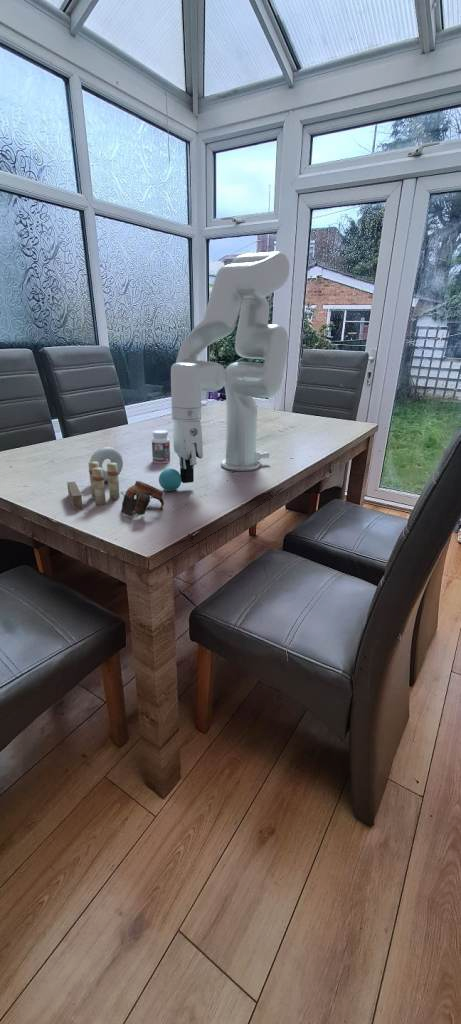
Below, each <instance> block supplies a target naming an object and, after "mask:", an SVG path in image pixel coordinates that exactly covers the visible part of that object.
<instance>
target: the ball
mask: <svg viewBox="0 0 461 1024" xmlns="http://www.w3.org/2000/svg"><path fill="white" fill-rule="evenodd" d="M158 482H159V485H160V487H161V488H162V489H163V490H165V491H168V492H174V491H176V490H178V489H179V487H180V486H181V484H182V482H181V475H180V473H179V471H178V470H176V469H174V468H167V469H164V470H162V472H160V474H159V477H158Z"/></svg>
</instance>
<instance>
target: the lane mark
mask: <svg viewBox="0 0 461 1024" xmlns="http://www.w3.org/2000/svg"><path fill="white" fill-rule="evenodd" d="M153 487H154V488H156V487H155V486H153ZM126 491H127V490H125V491H121V494H122V495H123V497H124V496H125V494H126ZM136 496H137V495H135V496H134V499H137V498H136ZM149 496H150V495H149ZM152 498H153V497H151V496H150V499H152ZM153 499H154V498H153Z"/></svg>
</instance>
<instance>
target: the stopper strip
mask: <svg viewBox="0 0 461 1024" xmlns="http://www.w3.org/2000/svg"><path fill="white" fill-rule="evenodd" d="M66 486H67V491H68V492H67V493H68V497H69V500H70V502H71V504H72V505H71V506H72V507H73V510H74V511H77V510H83V509H84V506H83V498H82V493H81V492H80V489H79V487H78V484H77V483H76V481H67V483H66Z"/></svg>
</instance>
